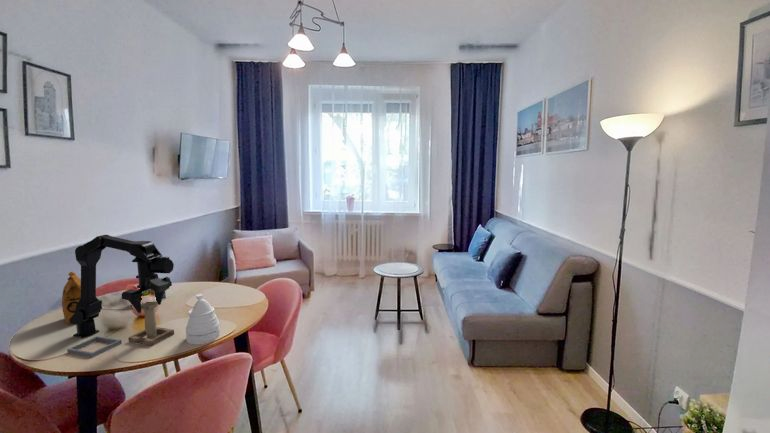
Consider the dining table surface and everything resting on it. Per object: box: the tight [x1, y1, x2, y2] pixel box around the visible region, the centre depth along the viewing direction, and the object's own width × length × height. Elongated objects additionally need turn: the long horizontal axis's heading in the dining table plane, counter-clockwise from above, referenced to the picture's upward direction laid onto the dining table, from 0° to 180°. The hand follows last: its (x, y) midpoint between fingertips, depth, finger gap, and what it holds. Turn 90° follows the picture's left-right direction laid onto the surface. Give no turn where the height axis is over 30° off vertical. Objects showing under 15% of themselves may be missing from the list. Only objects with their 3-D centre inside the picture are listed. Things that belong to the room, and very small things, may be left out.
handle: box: [141, 301, 159, 339], centre depth 152 cm, size 5×6×15 cm
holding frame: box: [66, 335, 122, 358], centre depth 144 cm, size 13×12×2 cm
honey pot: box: [185, 293, 221, 345], centre depth 153 cm, size 13×13×18 cm
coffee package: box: [61, 271, 81, 325], centre depth 170 cm, size 10×12×22 cm
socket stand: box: [128, 326, 175, 347], centre depth 153 cm, size 12×11×2 cm
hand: (149, 308), depth 151 cm, fingers open, 9 cm apart
